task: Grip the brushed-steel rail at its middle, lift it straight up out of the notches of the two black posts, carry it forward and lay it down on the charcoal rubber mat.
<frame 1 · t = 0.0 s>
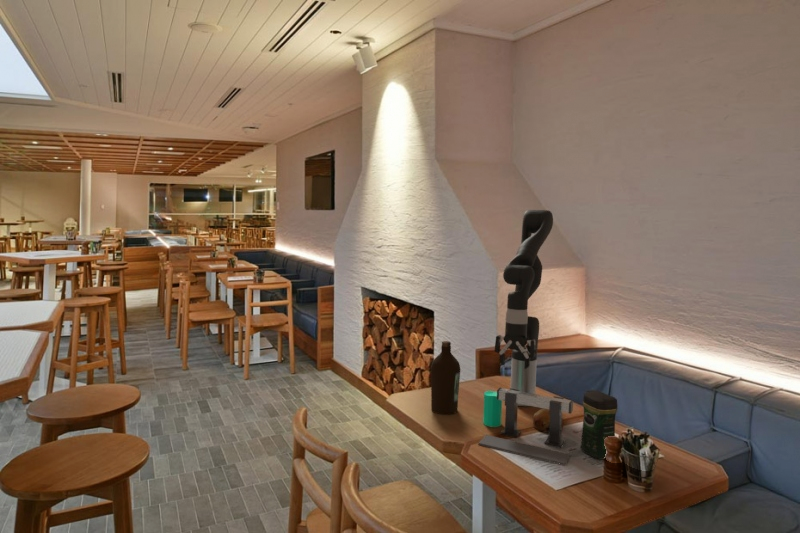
hand: (514, 366, 185), 17 cm above the table, tool pointing down, fingers open, 8 cm apart
rail: (533, 404, 164), point 11 cm above the table, touching post pair
olive oil: (444, 410, 189), on the table
bread roll: (547, 428, 175), on the table
mat: (523, 450, 157), on the table
coffee jar: (597, 453, 156), on the table
candle: (492, 424, 177), on the table
post pair: (532, 438, 165), on the table
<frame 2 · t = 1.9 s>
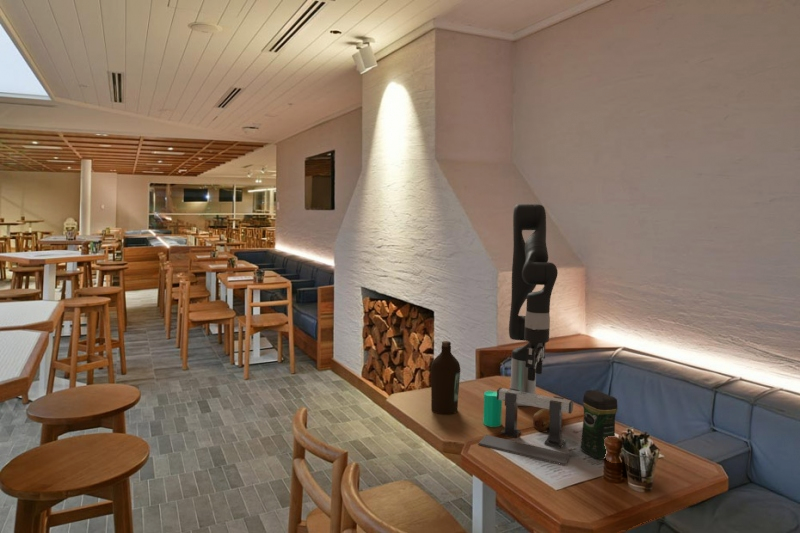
hand: (534, 376, 164), 20 cm above the table, tool pointing down, fingers open, 8 cm apart
nothing on the table moved.
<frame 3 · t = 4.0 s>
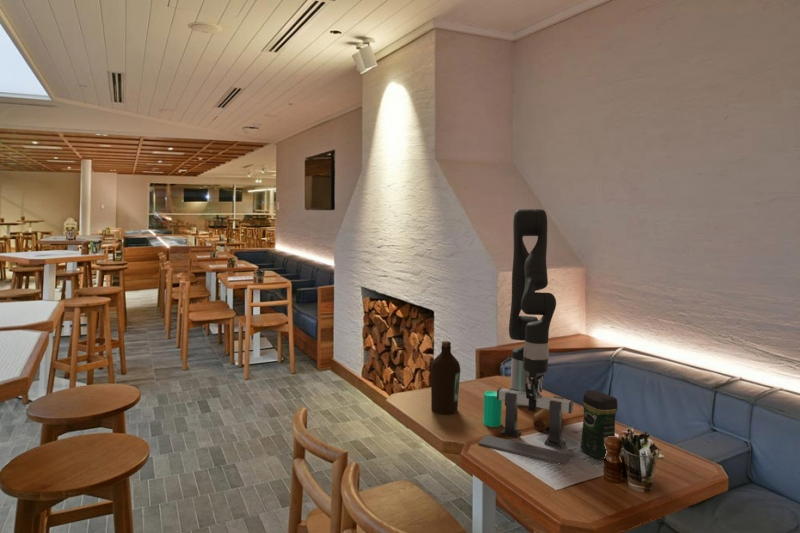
hand: (533, 408, 165), 10 cm above the table, tool pointing down, fingers closed on rail, 3 cm apart
rail: (533, 404, 164), point 11 cm above the table, touching gripper, post pair
everything else where it was.
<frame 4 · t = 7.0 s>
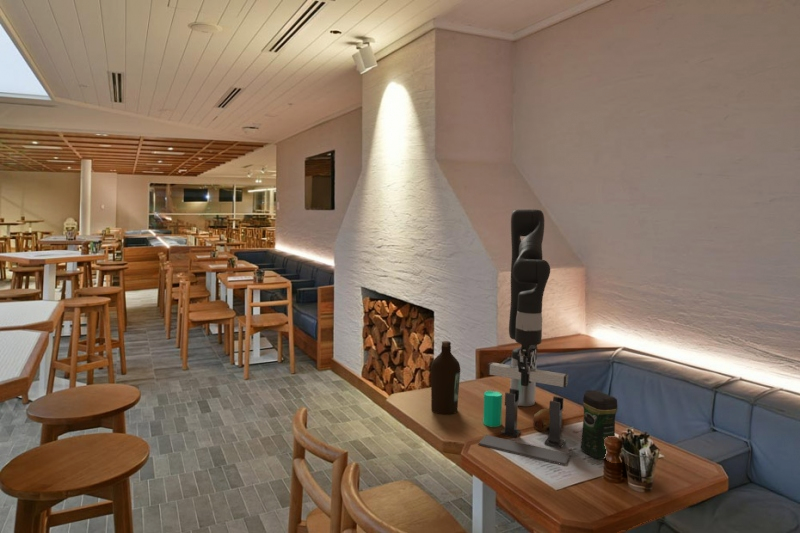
hand: (526, 383, 155), 20 cm above the table, tool pointing down, fingers closed on rail, 3 cm apart
rail: (526, 379, 155), point 22 cm above the table, touching gripper
everything else where it was.
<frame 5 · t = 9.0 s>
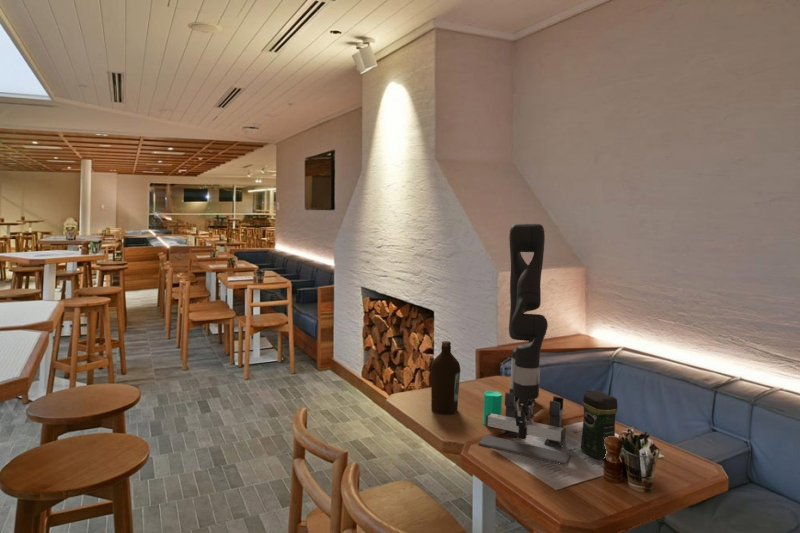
hand: (523, 436, 156), 4 cm above the table, tool pointing down, fingers closed on rail, 3 cm apart
rail: (524, 431, 156), point 6 cm above the table, touching gripper
everything else where it was.
when the fingers open (1 cm above the table, at t = 10.4 s): rail drops 2 cm, resting on mat.
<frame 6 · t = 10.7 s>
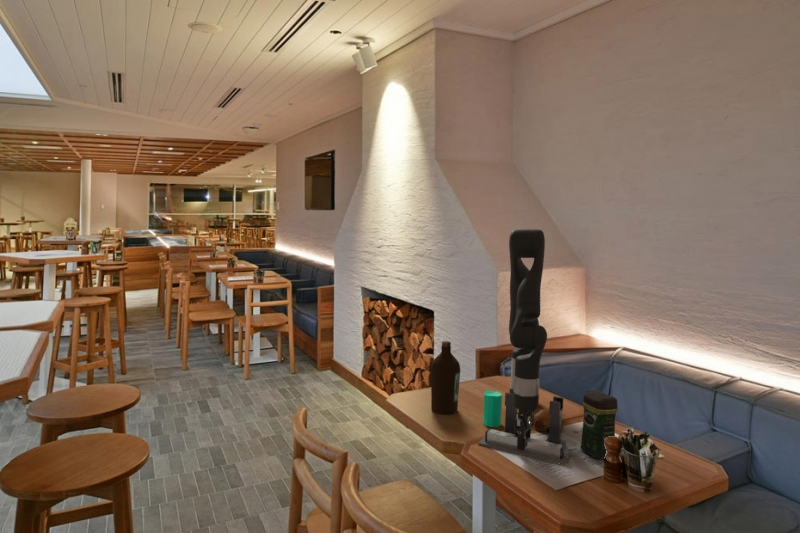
hand: (523, 445, 157), 1 cm above the table, tool pointing down, fingers open, 5 cm apart
rail: (523, 448, 157), point 1 cm above the table, touching mat
everything else where it was.
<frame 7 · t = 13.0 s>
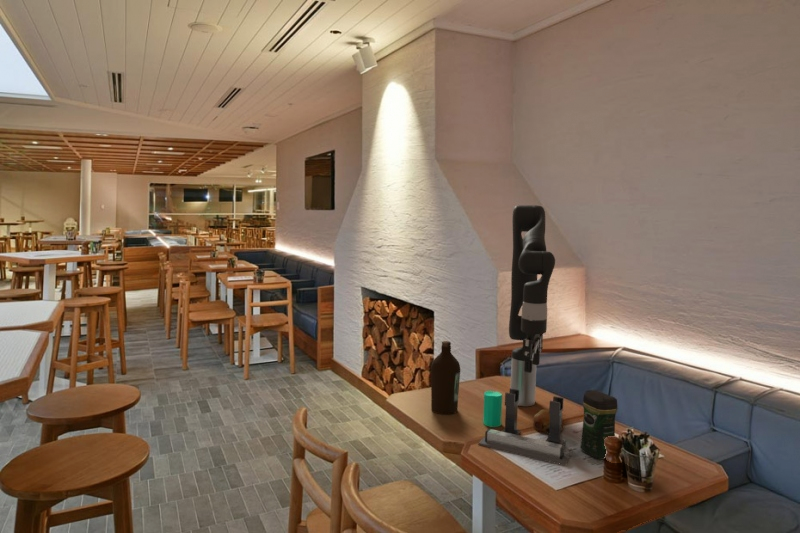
hand: (531, 368, 160), 24 cm above the table, tool pointing down, fingers open, 8 cm apart
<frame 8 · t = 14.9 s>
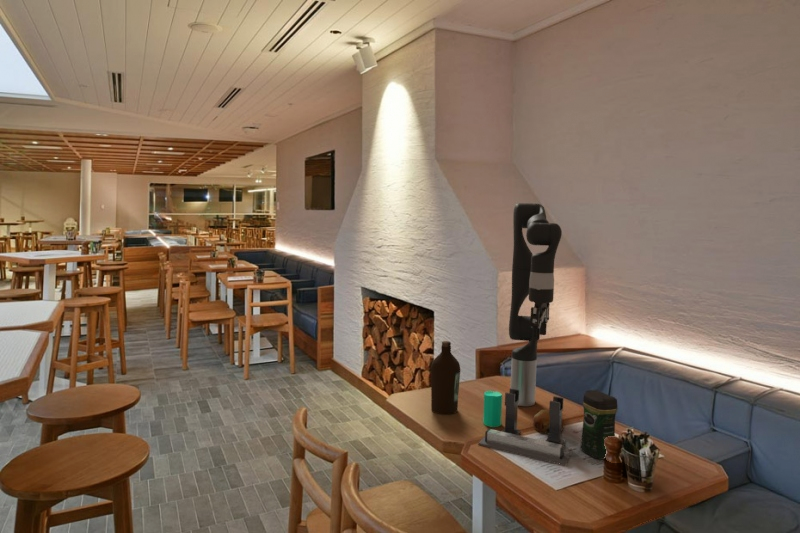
hand: (539, 337, 165), 32 cm above the table, tool pointing down, fingers open, 8 cm apart
at the end: rail inside the target area (0.1 cm from its centre), point 0.6 cm above the table; rail point 0.6 cm above the table; the gripper is holding nothing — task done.
